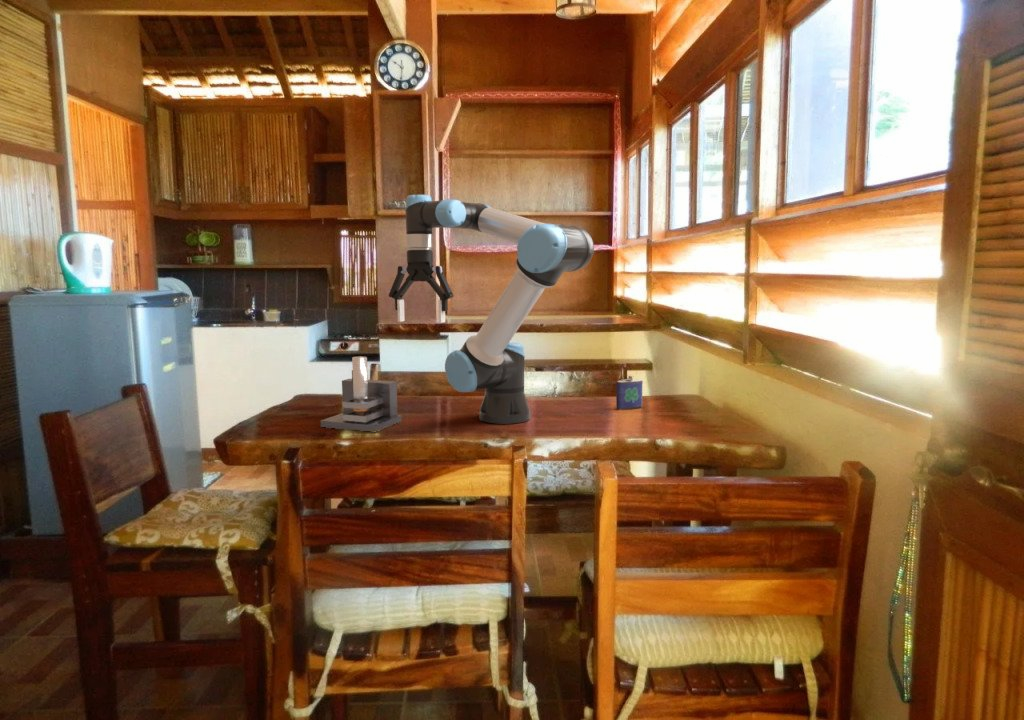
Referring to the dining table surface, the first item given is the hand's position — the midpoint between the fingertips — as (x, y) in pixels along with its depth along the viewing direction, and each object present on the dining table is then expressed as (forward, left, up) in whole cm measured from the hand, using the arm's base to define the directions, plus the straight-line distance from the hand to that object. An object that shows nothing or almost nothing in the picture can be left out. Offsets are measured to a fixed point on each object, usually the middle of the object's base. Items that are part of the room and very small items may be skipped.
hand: (421, 322), depth 202 cm
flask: (-56, -33, -29) cm, 71 cm away
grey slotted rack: (+12, +15, -29) cm, 35 cm away
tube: (+10, +18, -27) cm, 34 cm away
